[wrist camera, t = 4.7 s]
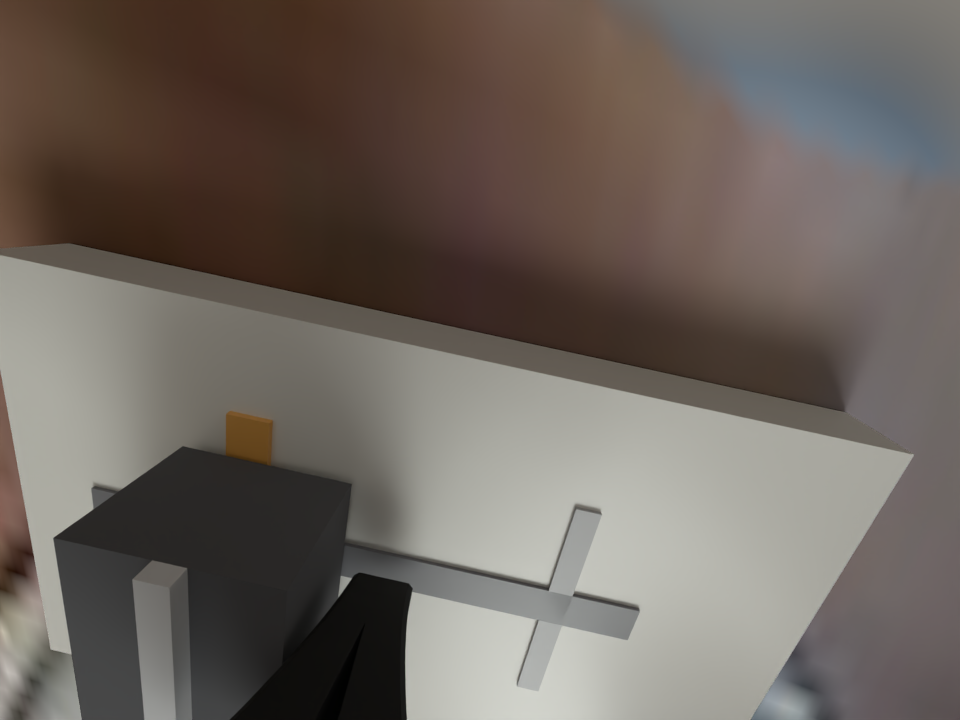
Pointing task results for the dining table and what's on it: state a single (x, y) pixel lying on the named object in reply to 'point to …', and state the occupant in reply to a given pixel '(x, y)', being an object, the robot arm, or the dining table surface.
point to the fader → (197, 584)
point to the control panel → (458, 480)
